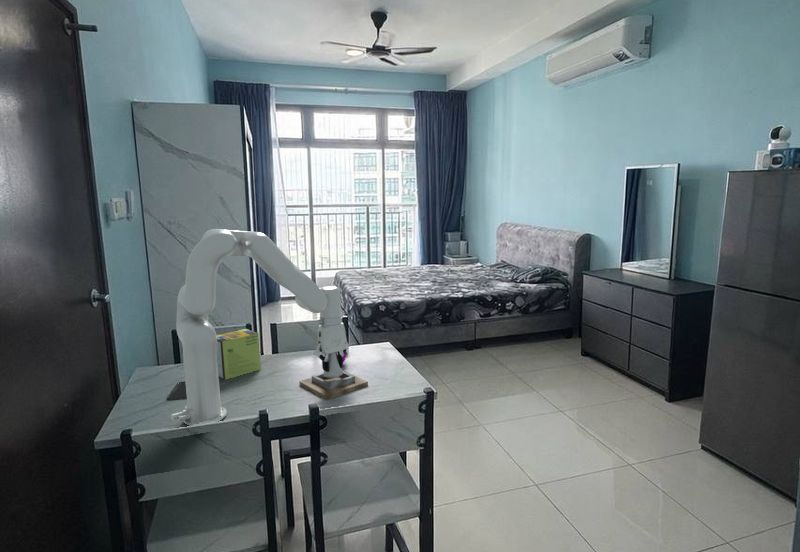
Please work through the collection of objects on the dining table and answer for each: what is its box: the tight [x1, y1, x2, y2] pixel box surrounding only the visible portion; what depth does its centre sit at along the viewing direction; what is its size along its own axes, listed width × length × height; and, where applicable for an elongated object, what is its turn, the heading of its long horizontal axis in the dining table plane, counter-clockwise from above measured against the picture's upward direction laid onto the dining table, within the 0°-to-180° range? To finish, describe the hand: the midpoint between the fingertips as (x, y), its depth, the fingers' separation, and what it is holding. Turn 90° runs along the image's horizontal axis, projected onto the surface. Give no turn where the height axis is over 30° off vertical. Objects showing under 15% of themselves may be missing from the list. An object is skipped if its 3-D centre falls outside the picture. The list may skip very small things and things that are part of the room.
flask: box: [323, 352, 343, 378], centre depth 168 cm, size 7×7×10 cm
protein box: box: [216, 328, 262, 381], centre depth 183 cm, size 10×15×16 cm
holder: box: [298, 369, 369, 401], centre depth 169 cm, size 18×18×4 cm
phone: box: [166, 381, 187, 400], centre depth 166 cm, size 8×1×15 cm
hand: (332, 368), depth 168 cm, fingers closed on flask, 5 cm apart
